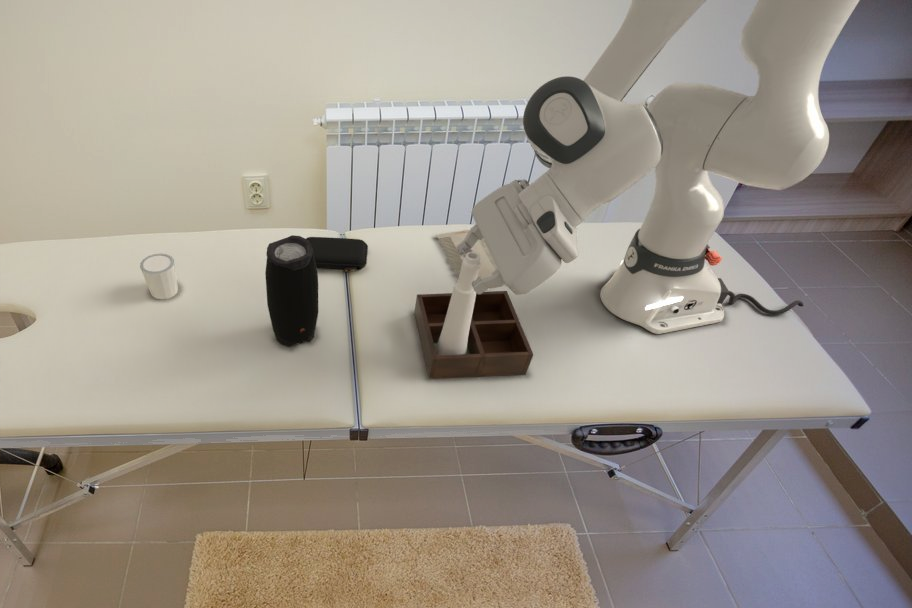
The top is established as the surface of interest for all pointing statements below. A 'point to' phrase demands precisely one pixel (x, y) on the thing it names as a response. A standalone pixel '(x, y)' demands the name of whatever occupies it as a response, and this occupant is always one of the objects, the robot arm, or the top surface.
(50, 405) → the top surface
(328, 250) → the carrying case
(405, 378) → the top surface
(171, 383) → the top surface
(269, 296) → the portable speaker
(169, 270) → the shot glass
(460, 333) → the cosmetic bottle
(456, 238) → the grooming comb
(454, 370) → the organiser
